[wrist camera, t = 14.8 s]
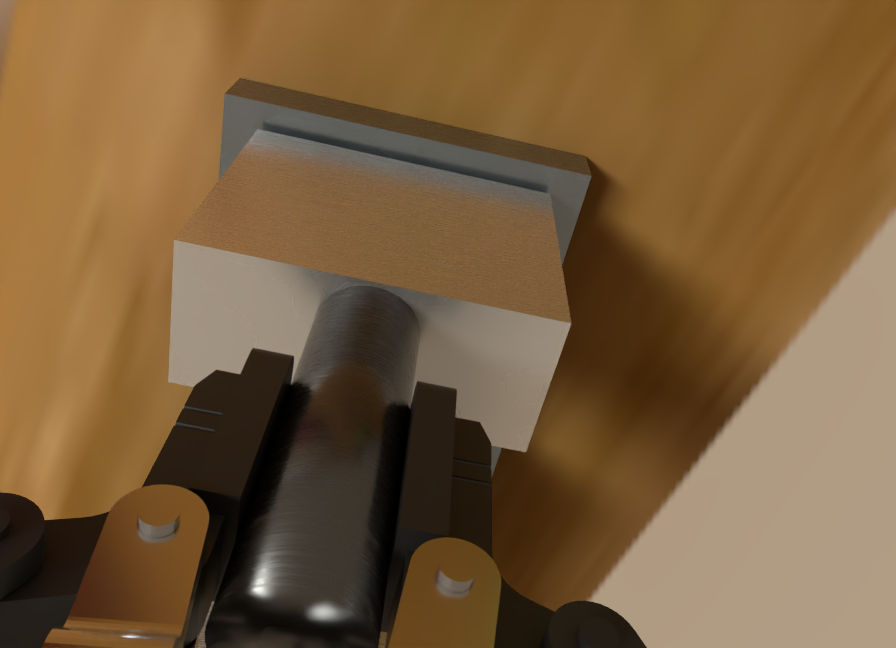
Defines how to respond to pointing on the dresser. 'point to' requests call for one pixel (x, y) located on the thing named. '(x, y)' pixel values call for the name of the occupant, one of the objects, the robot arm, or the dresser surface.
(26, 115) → the dresser surface
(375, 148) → the vise
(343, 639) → the free jaw
